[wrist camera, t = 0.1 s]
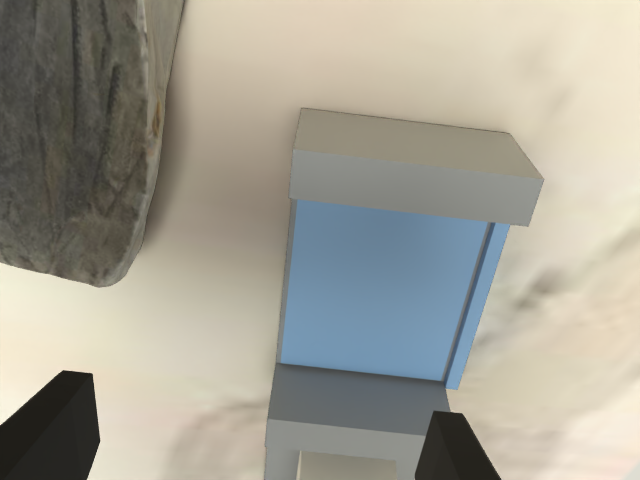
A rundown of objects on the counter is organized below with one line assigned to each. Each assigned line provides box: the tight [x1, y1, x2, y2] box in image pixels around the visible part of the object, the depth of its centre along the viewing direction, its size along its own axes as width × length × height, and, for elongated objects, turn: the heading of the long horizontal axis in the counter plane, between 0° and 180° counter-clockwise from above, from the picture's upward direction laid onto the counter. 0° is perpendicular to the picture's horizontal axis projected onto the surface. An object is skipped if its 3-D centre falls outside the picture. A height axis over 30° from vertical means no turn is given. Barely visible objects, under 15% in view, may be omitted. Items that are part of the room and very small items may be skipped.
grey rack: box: [264, 108, 544, 480], centre depth 23 cm, size 22×8×4 cm, turn 173°
